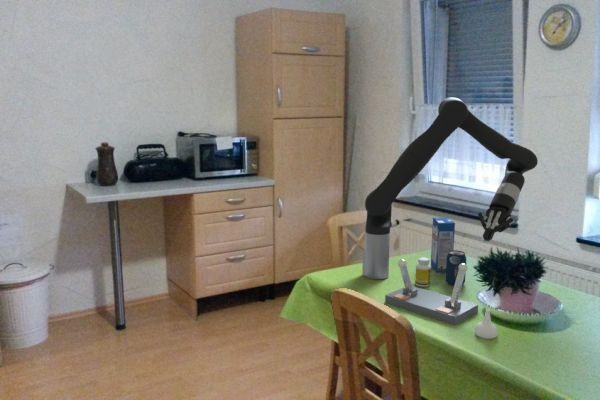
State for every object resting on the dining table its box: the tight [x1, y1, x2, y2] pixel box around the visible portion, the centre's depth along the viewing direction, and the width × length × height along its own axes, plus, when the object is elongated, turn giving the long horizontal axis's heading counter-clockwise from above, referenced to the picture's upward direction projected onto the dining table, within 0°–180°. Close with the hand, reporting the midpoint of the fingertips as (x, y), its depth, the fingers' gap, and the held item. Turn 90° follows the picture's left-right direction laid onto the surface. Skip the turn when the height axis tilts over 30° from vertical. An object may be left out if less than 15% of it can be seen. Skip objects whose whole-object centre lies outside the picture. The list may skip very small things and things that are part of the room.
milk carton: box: [430, 217, 456, 274], centre depth 218 cm, size 10×6×20 cm, turn 179°
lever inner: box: [397, 259, 413, 293], centre depth 182 cm, size 3×3×13 cm
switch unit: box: [384, 285, 479, 326], centre depth 180 cm, size 26×14×4 cm, turn 45°
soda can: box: [445, 249, 467, 287], centre depth 201 cm, size 7×7×12 cm
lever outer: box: [450, 263, 469, 304], centre depth 175 cm, size 3×3×13 cm
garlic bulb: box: [474, 308, 499, 340], centre depth 159 cm, size 6×6×8 cm
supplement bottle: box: [414, 256, 432, 288], centre depth 201 cm, size 5×5×10 cm
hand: (486, 239), depth 185 cm, fingers closed
